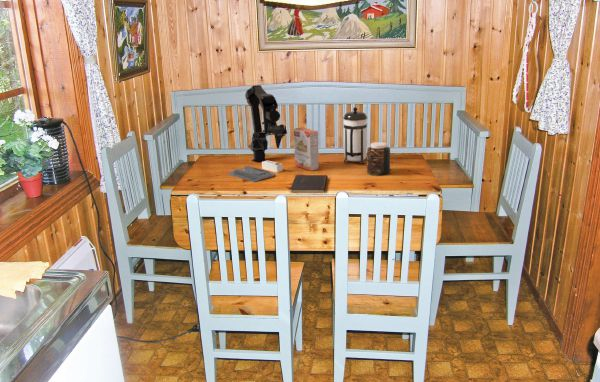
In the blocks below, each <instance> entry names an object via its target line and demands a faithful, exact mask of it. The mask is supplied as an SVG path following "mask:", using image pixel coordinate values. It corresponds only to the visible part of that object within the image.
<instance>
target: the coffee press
mask: <svg viewBox="0 0 600 382" xmlns="http://www.w3.org/2000/svg"><path fill="white" fill-rule="evenodd" d="M342 119H343V136H344V137H343V138H344V139H343V141H344V142H343V143H344V144H343V145H344V147H343V148H344V149H343V150H344V160H343V164H344V165H347V164H348V163H349V162H359V163H360V164H361V165H365V161H367V128H368V121H367V119H368V116H367V114H366V113H365V112H363V111H358V108H357V107H353V109H352V111H348V112H346V113H345V114H344V116H343V118H342Z"/></svg>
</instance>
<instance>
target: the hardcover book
mask: <svg viewBox="0 0 600 382" xmlns="http://www.w3.org/2000/svg"><path fill="white" fill-rule="evenodd" d="M328 178H329V177H328V175H327V174H296V175H295V176H294V178H293V181H292V184H291V186H290V188H289V190H290V193H291V194H292V193H293V194H296V193H297V194H298V193H299V194H300V193H301V194H304V193H305V194H307V193H309V194H311V193H313V194H314V193H315V194H317V193H322V194H323V193H324V194H325V193H326V187H327V183H328Z"/></svg>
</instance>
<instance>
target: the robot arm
mask: <svg viewBox="0 0 600 382" xmlns="http://www.w3.org/2000/svg"><path fill="white" fill-rule="evenodd" d="M244 96H245V100H246V103H247V104H248V106H249V107H250V112H251V120H252V128H253V133H252V137H251V143H250V146H249V148H250V151H251V152H253V153H252V154H253V158H252V159H251V161H252V162H256V163H262V162H263V161H267V160H268V158H266V153H265V152H266V150H268V145H269V141H268V139H267V136H273V135H274V139H275V145H276V146H275V147H276V148H277V149H279V148H280V145H281V142H282V140H283V137H286V135H287V134H288V131H287V129H286V127H285V124H280V125H279V124H277V121H279V120H280V119H281V114H280V112H279V111H278V110H277V109H278V107H279V105H278V103H277V99H276V97H275V96H274V95H273V94H271V93H267V92H266V91H265V90H264V88H263V86H262V85H260V84H256V85H251V87H250V88H248V89H247V90H246V92H245V94H244ZM260 108H261V109H262V111H261V112H262V117H263V118H262V119H263V122H262V119H261V112H260ZM262 125H263V126H262ZM262 127H263V128H262Z"/></svg>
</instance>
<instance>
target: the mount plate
mask: <svg viewBox="0 0 600 382" xmlns="http://www.w3.org/2000/svg"><path fill="white" fill-rule="evenodd" d="M227 174H228V176H232V177H235V178H238V179H241V180H245V181H248V182H252V183H256V182H259V181H262V180H267V179H270V178H272V177H276V173H275V172H274V173H273V172H272V171H269V170H265V169H262V168H261V169H260V168H258V167H252V166H249V165H244V167H243V168H240V169H239V168H234V169H233V171H229V172H228V173H227Z"/></svg>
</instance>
